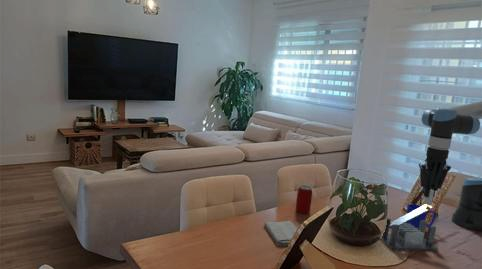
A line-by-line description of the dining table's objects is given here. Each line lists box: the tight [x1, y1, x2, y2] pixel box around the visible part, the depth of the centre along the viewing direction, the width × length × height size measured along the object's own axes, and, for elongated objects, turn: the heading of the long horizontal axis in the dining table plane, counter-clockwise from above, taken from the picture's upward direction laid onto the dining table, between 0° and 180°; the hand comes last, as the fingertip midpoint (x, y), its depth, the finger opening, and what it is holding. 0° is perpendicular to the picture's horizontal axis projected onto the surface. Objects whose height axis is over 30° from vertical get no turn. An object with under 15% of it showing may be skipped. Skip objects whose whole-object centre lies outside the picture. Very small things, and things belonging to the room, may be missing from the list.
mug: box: [405, 203, 437, 229], centre depth 158 cm, size 8×12×10 cm
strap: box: [387, 204, 434, 230], centre depth 141 cm, size 19×4×1 cm, turn 98°
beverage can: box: [295, 185, 313, 214], centre depth 166 cm, size 7×7×12 cm
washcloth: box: [263, 220, 298, 247], centre depth 141 cm, size 12×18×3 cm, turn 15°
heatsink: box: [380, 217, 439, 251], centre depth 143 cm, size 20×12×9 cm, turn 99°
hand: (427, 204), depth 142 cm, fingers closed
